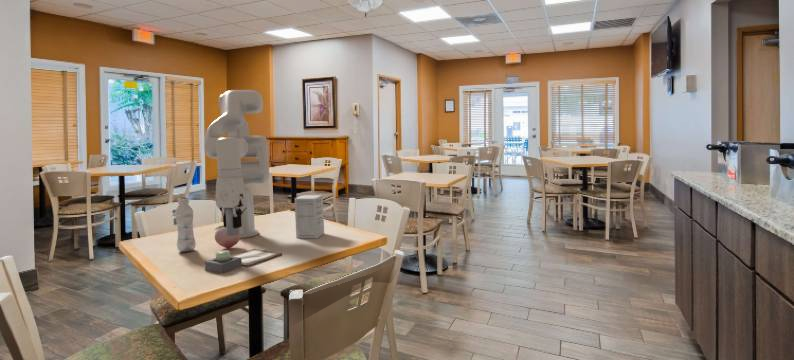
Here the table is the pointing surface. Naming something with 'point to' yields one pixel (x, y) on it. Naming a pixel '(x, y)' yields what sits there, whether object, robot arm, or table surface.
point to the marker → (230, 222)
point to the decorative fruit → (225, 238)
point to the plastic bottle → (185, 226)
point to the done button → (222, 255)
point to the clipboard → (256, 256)
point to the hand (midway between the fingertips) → (232, 226)
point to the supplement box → (309, 216)
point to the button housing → (223, 265)
